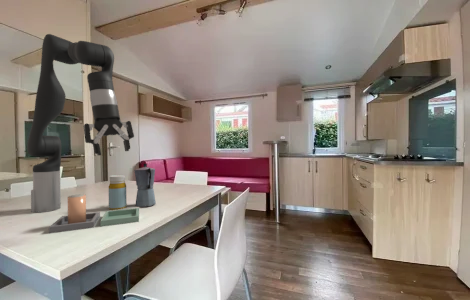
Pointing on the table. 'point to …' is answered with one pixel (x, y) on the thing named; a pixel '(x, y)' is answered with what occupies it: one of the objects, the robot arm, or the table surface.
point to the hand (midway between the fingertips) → (113, 153)
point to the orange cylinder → (76, 208)
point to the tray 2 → (120, 217)
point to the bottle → (117, 192)
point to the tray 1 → (64, 226)
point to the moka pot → (145, 186)
